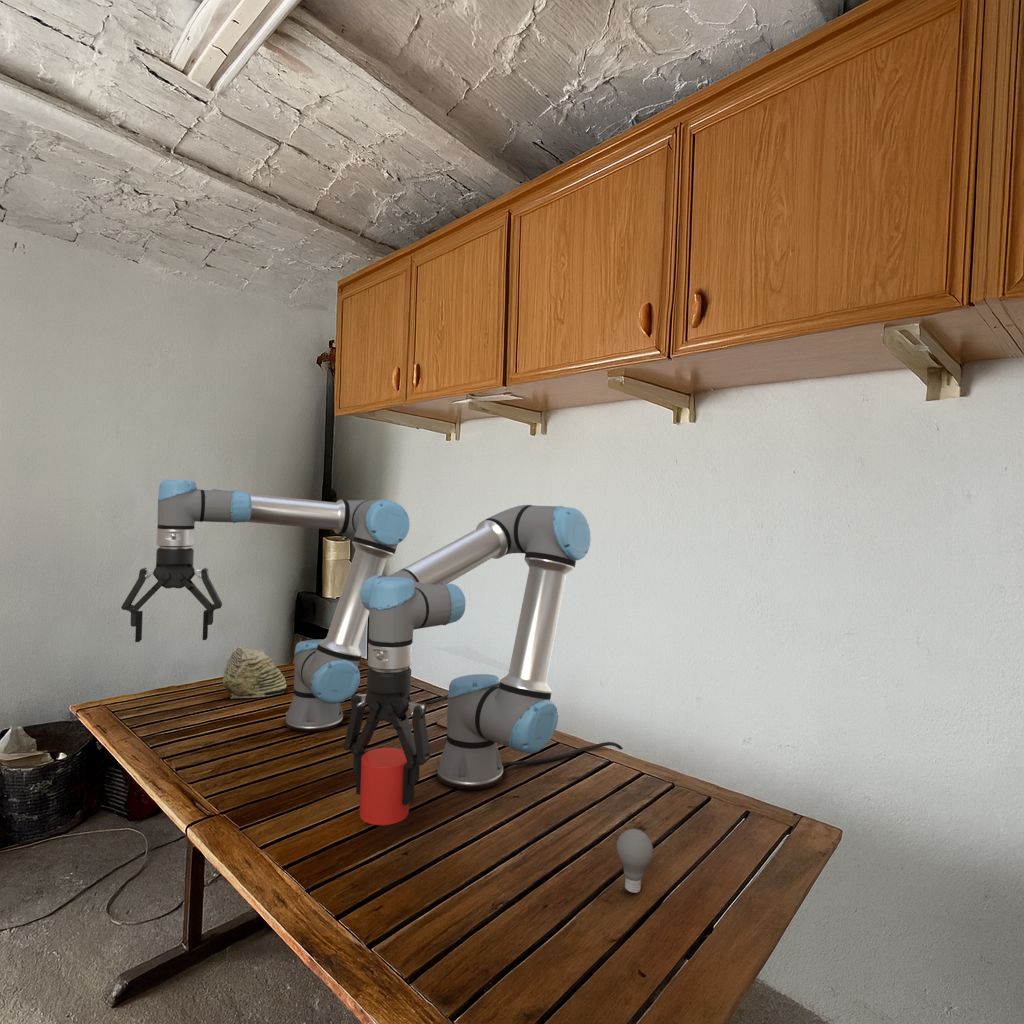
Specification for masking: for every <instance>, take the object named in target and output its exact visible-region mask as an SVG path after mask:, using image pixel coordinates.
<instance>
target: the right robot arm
mask: <svg viewBox="0 0 1024 1024" xmlns="http://www.w3.org/2000/svg"><path fill="white" fill-rule="evenodd" d="M590 547H591V529H590V525H589V523H588V519H587V518H586V516H585V514H584V513H583V512H582V511H580V510H579V509H577V508H575V507H569V506H563V505H533V504H522V505H517V506H513V507H510V508H508V509H505V510H502V511H500V512H498V513H496V514H493V515H491V516H490V517H488V518H485V519H483V520H482V521H481V522H478V524H477V525H476V527H475V529H473V530H472V531H470V532H468V533H466V534H464V535H463V536H461V537H459V538H457V539H456V540H455V539H454V541H452V542H449V543H447V544H446V545H445V546H442V547H440V548H438V549H437V550H435V551H433V552H431V553H429V554H427V555H425V556H424V557H422V558H420V559H418V560H416V561H414V562H412V563H411V564H409V565H407V566H405V567H402V568H401V569H400V570H398V571H395V572H393V573H391V574H389V575H384V574H382V575H377V576H376V575H375V576H372V577H370V578H368V579H367V580H366V581H365V583H364V584H363V586H362V589H361V601H362V604H363V606H364V607H365V608H366V609H367V610H369V616H368V645H367V646H368V647H367V648H368V649H367V666H368V667H369V668H368V669H367V671H366V672H367V673H366V690H367V693H365V694H364V692H359V693H357V694H353V695H352V696H351V697H350V707H351V710H350V711H351V714H349V715H350V716H349V720H348V724H347V729H346V734H345V738H344V739H345V740H344V743H343V749H344V750H345V751H350V752H351V753H352V755H353V765H352V766H353V767H352V770H353V773H354V774H355V773H356V785H355V794H356V795H359V796H360V785H361V758H362V756H363V755H364V754H365V753H366V752H367V751H366V750H367V749H368V745H369V743H370V741H371V739H372V737H373V735H374V734H375V733H374V732H375V731H376V729H377V726H378V725H379V723H380V722H387V723H389V724H391V725H392V728H393V729H394V730H395V731H396V733H397V736H398V739H399V742H400V745H401V749H402V750H403V751H404V754H405V757H406V760H407V762H408V764H406V765H405V766H404V774H403V801H402V804H403V805H407V804H408V803H409V804H410V803H411V802H412V801H413V800H414V799H415V785H416V784H418V782H419V780H420V766H423V765H425V764H426V763H427V762H428V761H430V759H431V751H430V743H429V735H428V730H427V729H428V728H427V721H426V712H427V704H425V703H421V704H418V703H419V702H415V701H413V699H412V697H411V694H410V693H411V687H412V668H411V666H412V664H413V642H414V641H413V640H414V639H413V637H414V630H420V629H426V628H432V627H439V626H447V625H449V624H453V623H456V622H458V621H459V620H461V618H462V617H463V616H464V614H465V611H466V597H465V594H464V592H463V590H462V588H460V586H459V585H457V584H454V583H453V582H454V581H456V580H457V579H459V578H461V577H462V576H464V575H466V574H467V573H469V572H471V571H473V570H474V569H476V568H477V567H479V566H481V565H482V564H485V563H486V562H487V561H489V560H491V559H494V560H495V559H496V560H498V559H501V558H503V557H505V556H507V555H511V554H524V559H523V560H524V562H525V563H526V564H527V566H528V569H529V570H528V572H527V573H528V574H527V578H526V582H525V588H524V593H523V598H522V604H521V609H520V614H519V618H518V623H517V629H516V635H515V637H514V638H515V639H514V644H513V649H512V654H511V659H510V664H509V668H508V672H507V674H506V675H505V676H504V677H503V678H501V679H500V678H499V676H497V675H495V674H489V673H477V674H476V673H475V674H467V675H461V676H458V677H456V678H453V679H452V680H451V682H450V683H449V685H448V694H447V695H448V698H447V708H446V709H447V710H446V711H447V712H446V716H447V727H446V742H445V745H444V747H443V750H442V753H441V756H440V755H438V756H437V760H436V766H437V768H436V778H437V780H438V781H439V782H440V783H441V784H442V785H445V786H447V787H449V788H452V789H456V790H463V791H478V790H479V791H480V790H486V789H489V788H492V787H494V786H496V785H498V784H499V783H501V782H502V780H503V778H504V767H507V766H508V767H509V766H522V765H523V766H527V765H535V764H542V763H547V762H552V761H557V760H561V759H565V758H568V757H572V756H574V755H576V754H580V753H582V752H585V751H591V750H595V749H599V748H603V747H609V746H611V747H615V748H616V749H618V750H624V749H623V747H622V746H621V744H619V743H618V742H613V741H605V742H601V743H597V744H593V745H592V744H591V745H588V746H583V747H580V748H577V749H574V750H572V751H569V752H566V753H562V754H558V755H554V756H548V757H543V758H536V759H530V760H529V759H528V760H514V761H513V760H511V761H502V759H501V756H500V752H499V748H498V744H499V745H502V746H503V747H507V748H510V749H511V750H513V751H515V752H520V753H524V754H529V755H531V754H532V755H533V754H536V753H538V752H540V751H542V750H543V749H544V748H545V747H546V746H547V744H549V743H550V741H551V740H552V738H553V736H554V734H555V732H556V729H557V727H558V723H559V712H558V707H557V706H556V704H555V703H554V702H553V701H552V700H551V699H552V698H551V697H552V692H553V691H552V689H551V687H550V686H549V684H548V676H549V670H550V665H551V660H552V655H553V649H554V645H555V638H556V633H557V628H558V623H559V618H560V612H561V607H562V602H563V596H564V590H565V586H566V580H567V576H568V575H569V574H570V573H572V572H573V571H574V570H575V568H576V564H577V563H576V562H577V561H580V560H582V559H584V558H585V557H586V555H587V554H588V552H589V550H590ZM366 706H368V708H369V709H370V710H371V711H370V712H368V715H367V717H366V719H365V724H364V726H363V728H362V724H363V719H364V715H365V713H364V710H366ZM408 710H409V711H410V714H409V715H410V717H412V718H411V724H412V729H411V725H410V718H409V715H408ZM361 728H362V730H361ZM412 731H413V732H412ZM439 756H440V758H439Z"/></svg>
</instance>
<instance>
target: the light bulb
mask: <svg viewBox="0 0 1024 1024" xmlns="http://www.w3.org/2000/svg"><path fill="white" fill-rule="evenodd" d="M615 849H616V854H617V857H618V859H619V861H620V863H621V865H622V867H623V873H624V874H623V875H624V876H625V878H624V888H625V890H627V891H628V892H630V893H634V894H635V893H639V892H640V891H641V889H642V887H641V886H642V879H643V877H644V875H645V871H646V868H647V867H648V866H649V864H650V863H651V861H652V859H653V855H654V847H653V843H652V841H651V838H649V836H648V835H647V834H646V833H645V832H643V831H642V830H641V829H636V828H629V829H627V830H625V831H623V832H622V833H621V834H620V835H619V837H618V839H617V841H616V847H615Z"/></svg>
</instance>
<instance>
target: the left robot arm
mask: <svg viewBox="0 0 1024 1024" xmlns="http://www.w3.org/2000/svg"><path fill="white" fill-rule="evenodd" d="M196 522H200V523H203V522H205V523H206V522H208V523H209V522H210V523H233V524H237V523H252V524H265V525H276V526H285V527H286V526H287V527H299V528H311V529H322V530H332V531H334V533H335V534H338V535H347V536H351V537H353V539H352V542H351V543H352V545H353V547H354V549H355V551H354V554H353V557H352V560H351V563H350V565H349V569H348V572H347V574H346V577H345V581H344V583H343V587H342V590H341V593H340V595H339V599H338V602H337V605H336V608H335V611H334V614H333V617H332V620H331V623H330V626H329V629H328V632H327V635H326V637H325V638H324V639H307V640H302V641H299V642H297V644H295V650H294V672H293V673H294V674H293V695H292V696H293V697H292V699H291V702H290V704H289V708H288V711H286V712H285V726H286V728H287V729H289V730H291V731H294V732H295V731H296V732H301V733H316V732H325V731H329V730H332V729H335V728H337V727H339V726H340V725H342V723H343V722H344V715H351V710H343V709H342V706H341V703H344V702H345V701H348V700H349V699H351V697H352V696H354V695H355V693H356V692H357V690H359V689H358V688H359V686H360V682H361V674H360V670H359V666H360V663H361V659H362V656H363V652H362V651H361V649H360V643H361V640H362V637H363V634H364V631H365V628H366V626H367V625H366V624H367V622H368V620H369V610H367V609H366V608H365V607H364V606H363V604H362V601H361V589H362V586H363V584H364V583H365V581H366V580H367V579H368V578H370V577H372V576H375V575H376V576H377V575H383V573H384V570H385V566H386V564H387V561H388V559H391V558H392V557H394V556H395V554H396V551H397V548H398V546H399V544H400V543H401V542H403V541H404V540H405V539H406V538H407V536H408V534H409V531H410V525H411V524H410V523H411V521H410V517H409V514H408V513H407V511H406V509H405V508H404V506H402V505H401V504H400V503H397V502H395V501H392V500H389V499H375V498H373V499H371V498H370V499H356V500H355V499H353V500H349V499H338V500H337V501H336V502H333V501H325V500H324V501H323V500H314V499H305V498H295V497H286V496H276V495H267V494H258V493H249V492H248V491H241V490H224V489H223V490H222V489H215V488H214V489H201V488H197V483H196V482H195V481H194V480H184V479H183V480H182V479H163V480H161V482H160V483H159V486H158V497H157V529H156V532H157V533H156V545H157V546H158V548H157V549H156V552H155V553H156V554H155V555H156V556H155V568H154V569H151V568H147V567H143V568H140V569H139V572H138V578H137V580H136V581H135V583H134V585H133V586H132V588H131V590H130V592H129V593H128V595H127V597H126V599H125V600H124V602H123V603H122V605H121V610H123V611H127V612H129V613H130V626H131V627H135V636H134V637H135V639H134V643H140V642H141V641H142V640H143V614H144V613H143V610H140V609H141V608H142V607H143V606H144V605H145V604H146V603H147V602H148V601H149V600H150V599H151V598H152V597H153V596H154V595H155V594H156V592H158V591H159V589H161V587H162V588H164V589H173V588H174V589H183V588H184V587H185V588H186V590H187V591H189V592H190V593H191V595H192V596H194V598H195V599H196V600H197V601H198V602H199V603H200V604H201V605H202V606H203V608H205V610H203V614H202V615H203V616H202V617H203V618H202V641H207V640H208V637H209V635H208V634H209V633H208V632H209V626H212V625H213V623H214V613H215V612H214V611H215V610H216V611H217V610H218V609H219V610H220V609H221V608H222V606H223V602H222V600H221V598H220V596H219V594H218V592H217V591H216V588H215V586H214V584H213V582H212V581H211V578H210V576H209V575H210V574H209V569H208V568H207V567H204V568H201V569H200V568H199V569H195V567H194V555H195V554H194V551H195V550H194V548H192V547H193V546H194V545H195V525H196ZM152 575H153V577H154V578H155V579H156V580H157V582H156V583H155V584H154V585H153V586H152V587H151V588H149V590H148V591H147V592H146V593H145V594H143V596H142V597H141V598H140V599H139V600H138V601H136V603H135V604H133V602H134V600H135V599H136V597H137V596H138V594H139V592H140V591H141V589H142V587H143V585H144V584H145V582H146V580H147V579H149V578H150V577H151V576H152ZM195 576H197V577H198V578H199V579H201V581H202V583H203V585H204V587H205V589H206V591H207V593H208V595H209V596H210V599H211V601H212V602H213V603H212V602H211V601H210V600H209V599H208V598H207V597H206V596H205V595H204V594H203V592H202V591H201V590H200V589H199V588H198V587H197V586H196V584H195V583H194V582H193V581H192V579H193V578H194V577H195ZM445 699H448V694H446V695H444V696H443V695H442V696H440V697H438V698H434V699H430V700H426V701H420V702H417V703H418V704H421V703H425V704H426V705H428V704H433V703H436V702H439V701H442V700H445ZM370 711H371V710H370V708H369V709H365V710H364V714H367V713H368V714H369V713H370Z"/></svg>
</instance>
